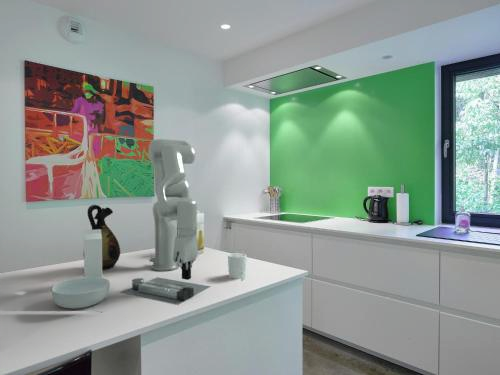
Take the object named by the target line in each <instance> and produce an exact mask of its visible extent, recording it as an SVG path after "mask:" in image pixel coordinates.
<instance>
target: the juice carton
mask: <svg viewBox="0 0 500 375" xmlns="http://www.w3.org/2000/svg"><path fill="white" fill-rule="evenodd" d="M204 221H205V214H204V212H200V210H197V243H198V255H201V254H204V253H205V252H204V250H205V248H204V247H205V229H204V228H205V222H204Z"/></svg>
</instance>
